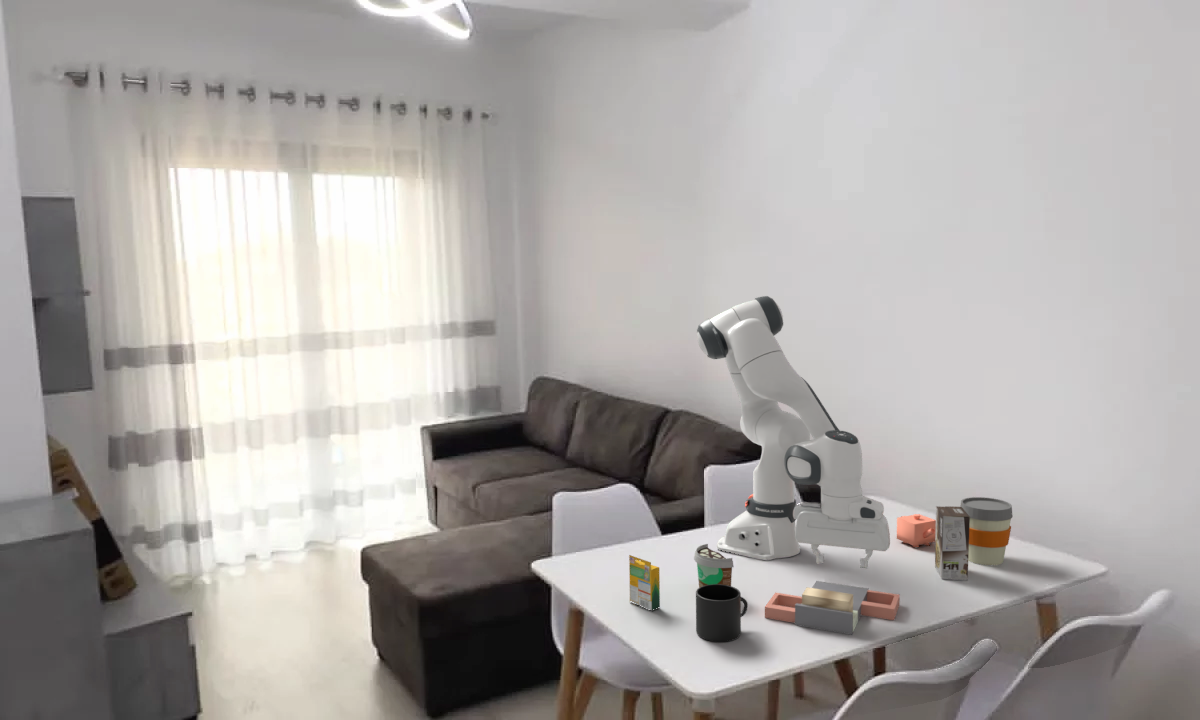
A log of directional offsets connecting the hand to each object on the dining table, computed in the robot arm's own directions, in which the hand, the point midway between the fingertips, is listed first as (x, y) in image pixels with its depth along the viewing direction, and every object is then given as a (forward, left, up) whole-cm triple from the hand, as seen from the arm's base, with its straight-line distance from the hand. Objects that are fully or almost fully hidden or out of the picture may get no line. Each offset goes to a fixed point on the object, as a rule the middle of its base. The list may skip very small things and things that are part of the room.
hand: (841, 565), depth 188 cm
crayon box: (-42, -14, -11) cm, 46 cm away
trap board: (-2, -1, -11) cm, 11 cm away
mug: (-21, -20, -11) cm, 31 cm away
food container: (-31, -1, -11) cm, 33 cm away
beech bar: (-2, -7, -8) cm, 11 cm away
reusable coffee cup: (+27, +49, -11) cm, 57 cm away
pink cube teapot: (+10, +55, -11) cm, 57 cm away
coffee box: (+20, +35, -11) cm, 42 cm away
